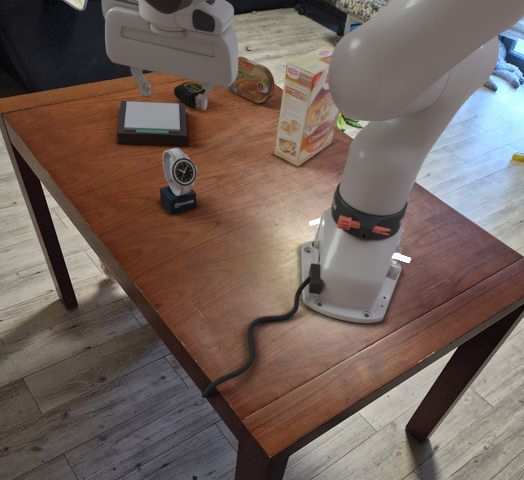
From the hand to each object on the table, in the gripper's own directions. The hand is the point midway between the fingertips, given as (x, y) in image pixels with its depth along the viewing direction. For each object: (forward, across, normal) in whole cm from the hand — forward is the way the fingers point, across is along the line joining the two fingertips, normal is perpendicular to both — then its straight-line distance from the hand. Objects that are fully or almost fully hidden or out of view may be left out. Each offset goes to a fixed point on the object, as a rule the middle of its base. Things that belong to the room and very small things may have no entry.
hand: (173, 101), depth 77 cm
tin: (+20, +2, +51) cm, 55 cm away
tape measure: (+20, -10, +41) cm, 47 cm away
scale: (+20, -15, +26) cm, 36 cm away
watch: (+20, 0, 0) cm, 20 cm away
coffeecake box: (+20, +20, +31) cm, 42 cm away
